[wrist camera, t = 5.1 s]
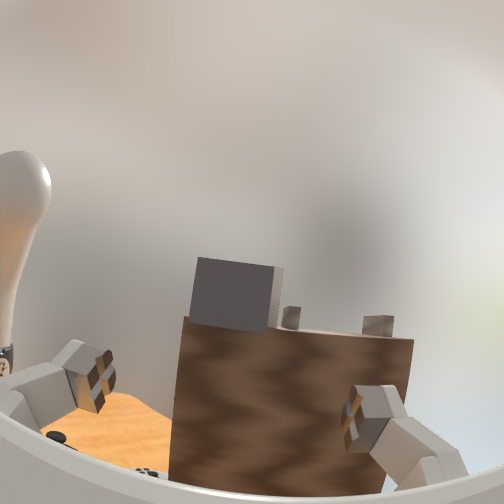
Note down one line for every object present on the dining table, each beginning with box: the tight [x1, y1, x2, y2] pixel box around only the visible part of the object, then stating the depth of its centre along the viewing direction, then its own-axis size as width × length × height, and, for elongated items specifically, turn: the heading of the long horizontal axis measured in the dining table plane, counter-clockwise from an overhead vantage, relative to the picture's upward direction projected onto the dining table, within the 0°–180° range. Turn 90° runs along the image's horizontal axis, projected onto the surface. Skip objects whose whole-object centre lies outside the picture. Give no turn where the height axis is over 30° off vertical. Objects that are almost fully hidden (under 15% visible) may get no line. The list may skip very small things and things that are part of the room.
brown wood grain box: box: [168, 306, 414, 497], centre depth 25 cm, size 18×11×26 cm, turn 89°
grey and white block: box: [188, 257, 284, 333], centre depth 23 cm, size 6×19×5 cm, turn 179°
